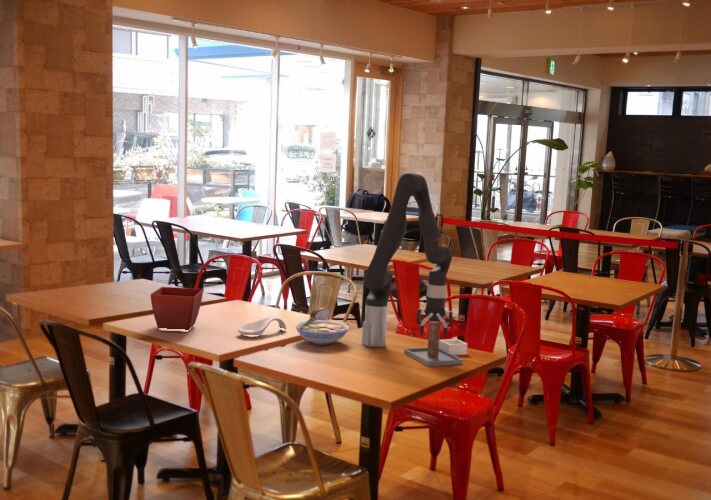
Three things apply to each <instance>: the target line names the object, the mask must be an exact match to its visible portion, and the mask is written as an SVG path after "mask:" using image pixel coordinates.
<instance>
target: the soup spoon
mask: <svg viewBox="0 0 711 500" xmlns="http://www.w3.org/2000/svg"><path fill="white" fill-rule="evenodd" d="M330 315H331V310H330V309H329V308H328V307H325V306H320V307H317V308H314V309H313V310H312V311H311V312H310V316H309V319H310V318H311V317H313V318H312V319H314V318H315V317H317V318H316V319H315V320H323V321H328V320H329V321H330ZM312 319H311V320H312ZM311 320H310V321H311Z"/></svg>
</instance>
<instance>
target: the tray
mask: <svg viewBox="0 0 711 500" xmlns="http://www.w3.org/2000/svg"><path fill="white" fill-rule="evenodd" d="M403 353H404V355H407V356H409V357H410V358H412V359H415V360H416V361H417V362H420V363H422V364H424V365H425V366H426V367H440V366H441V367H442V366H454V365H456V366H457V365H463V363H464V359H462V358H460V357H459V356H458V355H453V354H451V353H449V352H447V351H445V350H443V349H441V348H439V353H438V358H430V357H428V356H427V355H428V346H427V347H426V346H425V347H413V348H411V347H410V348H404V349H403Z"/></svg>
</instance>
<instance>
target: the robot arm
mask: <svg viewBox="0 0 711 500" xmlns="http://www.w3.org/2000/svg"><path fill="white" fill-rule="evenodd" d="M396 183H397V184H396V187H395V191H394V195H393V199H392V201H391V202H392V203H391V205H390V208H389V212H388V215H387V218H386V220H385V222H384V224H383V227H382V231H381V233H380V237H379V239H378V242H377V244H376V245H377V246H376V248H375V251H374V254H373V257H372V259H371V260H370V263H369V265H368V267H367V269H366V271H365V272H364V276H363V277H364V278H363V282H364V284H365V285H364V286H365V287H366V288H367V289H368V290H369V292H368V295H367V296H366V297H365V310H364V311H365V312H364V321H363V322H362V331H361V333H362V334H361V344H362V345H364V346H366V347H367V348H368V347H369V348H370V347H371V348H381V347H382V348H383V347H385V346H386V343H387V337H386V336H387V319H388V304H389V303H388V302H389V299H390V294H391V285H392V284H391V283H392V275H391V273H390V271H389V269H388V267H389V264H390V261H391V260H392V258H393V257H394V255H395V254H396V252H397V251H398V250H399V248H400V246H401V245H402V244H403V243H402V242H403V240H404V237H405V234H406V232H407V227H408V220H407V208H408V205H409V201H410V199H411V197H413V198H414V200H415V201H416V204H417V209H418V219H417V220H418V227H419V229H420V232H421V235H422V238H423V243H424V245H423V246H424V253H425V254H424V255H425V258H426V260H427V261H428V262H429V263H430V264H433V265H436V266H435V267H434V268H432V269H430V270H429V272H428V281H427V283H428V284H427V289H426V299H425V300H426V302H425V308H424V309H422V308H420V307H419V308H418V309H417V312H416V313H417V315H416V320H415V321H416V322H415V323H416V324H417V325H419V326H420V328H419V329H420V330H419V332H420V334H421V335H422V336H424V335H425V334H424V333H425V324H426V323H427V322H428V321H429V322H440V324H442V326H443V334H442V335H443V337H444V338H445V337H446V336H447V335H448V328H449V327H452V326H453V311H452V310H448V311H446V298H447V297H446V296H447V275H448V272H449V269H450V266H451V263H452V260H453V253H452V249H451V248H450V247H449V246H448V245H438V244H437V242H438V241H439V240H441V238H442V234H441V230H440V229H439V225H438V222H437V220H436V218H435V213H434V211H433V206H432V203H431V197H430V193H429V192H430V191H429V187H428V183H427V181H426V178H425V177H424V176H423V175H422V174H419V173H413V172H404V173H403V174H401V175H400V176H399V179H398V180H397V182H396ZM423 313H424V314H425V317H424V318H423V319H422V321H421V315H423ZM445 316H446V317H448V322H446V319H445V318H444V317H445Z"/></svg>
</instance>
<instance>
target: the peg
mask: <svg viewBox="0 0 711 500" xmlns="http://www.w3.org/2000/svg"><path fill="white" fill-rule="evenodd" d="M428 323H429V324H428V325H429V326H428V339H427V340H428V343H427V347H428V355H427V356H428V357H430V358H438V353H439V340H440V336H441V335H440V334H441V332H440V331H441V322H439V321H429V322H428Z"/></svg>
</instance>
